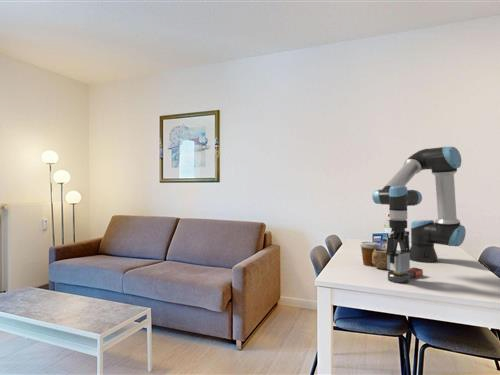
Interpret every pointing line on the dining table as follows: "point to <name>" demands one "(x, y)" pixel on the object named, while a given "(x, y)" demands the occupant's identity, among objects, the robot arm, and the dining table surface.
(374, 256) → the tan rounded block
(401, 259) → the grey upright box
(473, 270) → the dining table surface
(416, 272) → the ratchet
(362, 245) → the disposable coffee cup
